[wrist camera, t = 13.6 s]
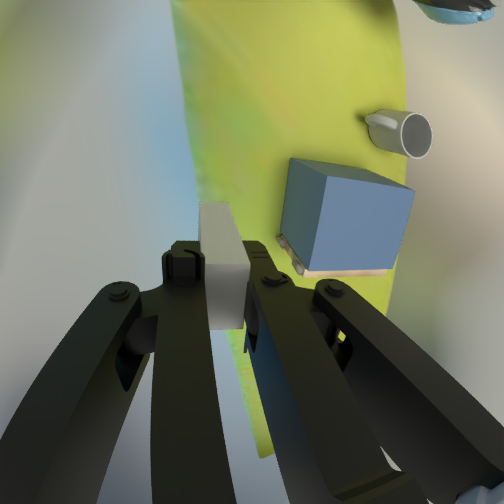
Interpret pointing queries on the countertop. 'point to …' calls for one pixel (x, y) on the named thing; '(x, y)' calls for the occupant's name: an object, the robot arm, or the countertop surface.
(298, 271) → the door
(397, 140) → the cup
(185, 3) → the countertop surface
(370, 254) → the cabinet
